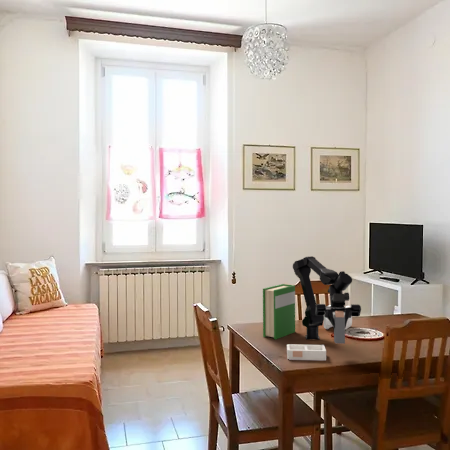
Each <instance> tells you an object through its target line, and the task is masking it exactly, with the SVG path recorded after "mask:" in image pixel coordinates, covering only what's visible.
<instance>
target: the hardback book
mask: <svg viewBox="0 0 450 450" xmlns="http://www.w3.org/2000/svg"><path fill="white" fill-rule="evenodd" d="M294 333H296V284H295V285H294V284H285V283H282V284H278V285H272V286H269V287H265V288H262V337H263V338H266V337H271V338H273V339H274V340H278V339H280V338H284V337H286V336H288V335H291V334H294Z"/></svg>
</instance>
